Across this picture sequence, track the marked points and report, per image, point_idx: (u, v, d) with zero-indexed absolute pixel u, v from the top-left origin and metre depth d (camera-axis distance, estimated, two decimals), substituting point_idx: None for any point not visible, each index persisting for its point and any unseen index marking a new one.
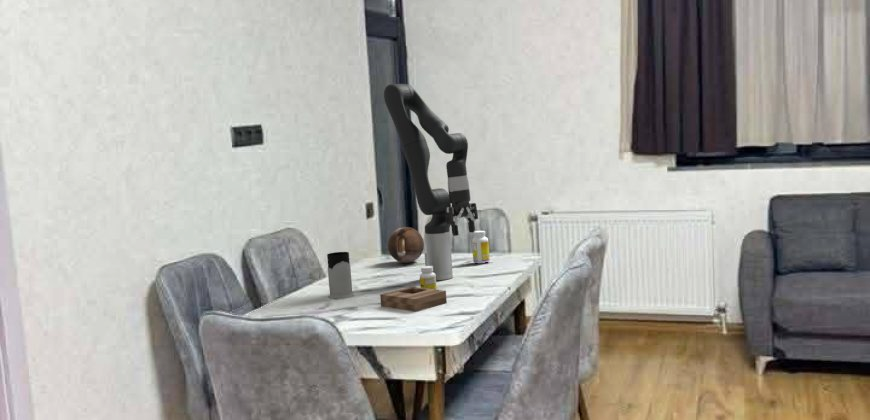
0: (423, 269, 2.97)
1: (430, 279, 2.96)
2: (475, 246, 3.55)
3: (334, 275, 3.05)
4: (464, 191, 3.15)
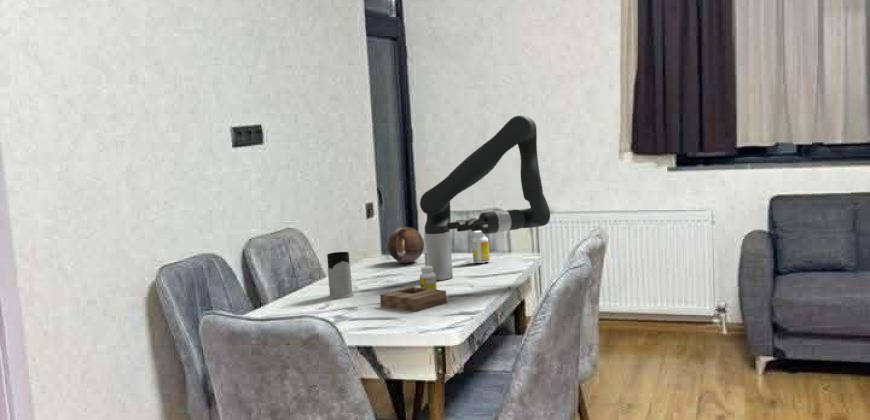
0: (423, 269, 2.97)
1: (430, 279, 2.96)
2: (475, 246, 3.55)
3: (334, 275, 3.05)
4: (494, 232, 3.06)
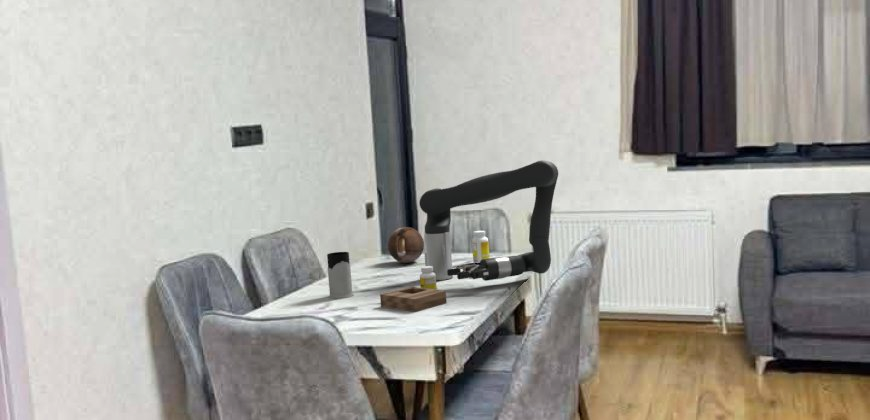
0: (423, 269, 2.97)
1: (430, 279, 2.96)
2: (475, 246, 3.55)
3: (334, 275, 3.05)
4: (494, 279, 3.07)
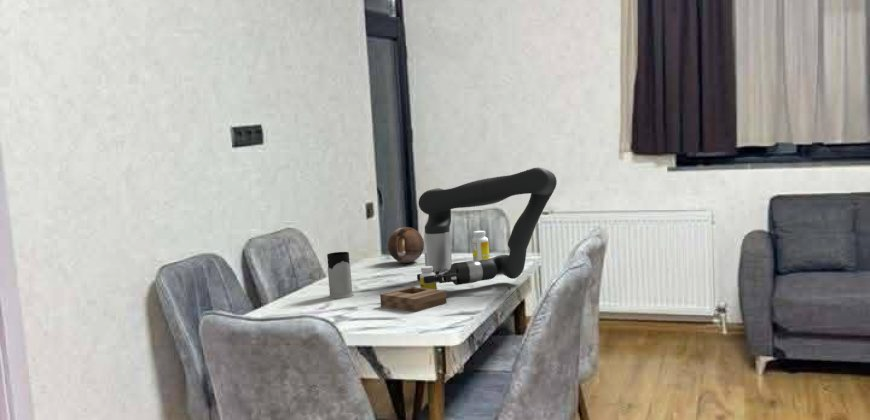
0: (423, 269, 2.97)
1: None
2: (475, 246, 3.55)
3: (334, 275, 3.05)
4: (465, 283, 3.03)
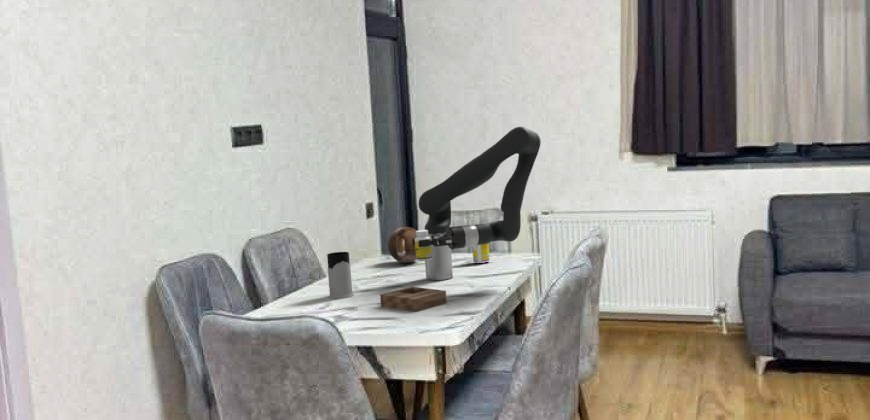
0: (418, 233, 2.93)
1: None
2: (475, 246, 3.55)
3: (334, 275, 3.05)
4: (461, 247, 2.99)
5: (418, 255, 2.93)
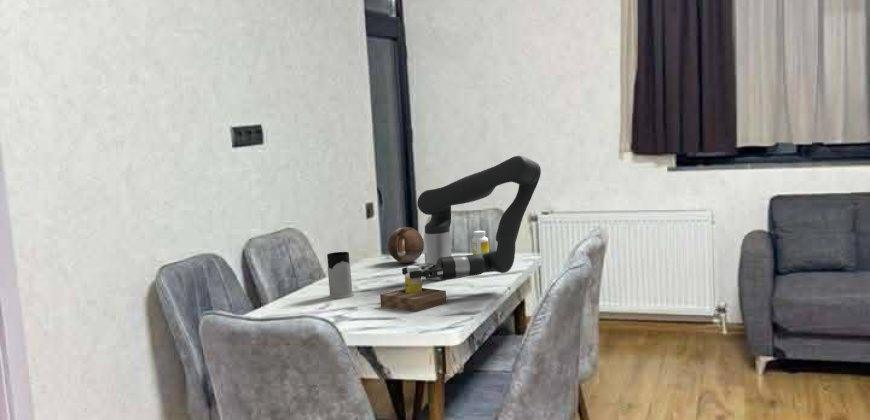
0: (408, 268, 2.87)
1: (415, 279, 2.86)
2: (475, 246, 3.55)
3: (334, 275, 3.05)
4: (452, 278, 2.91)
5: (407, 291, 2.87)
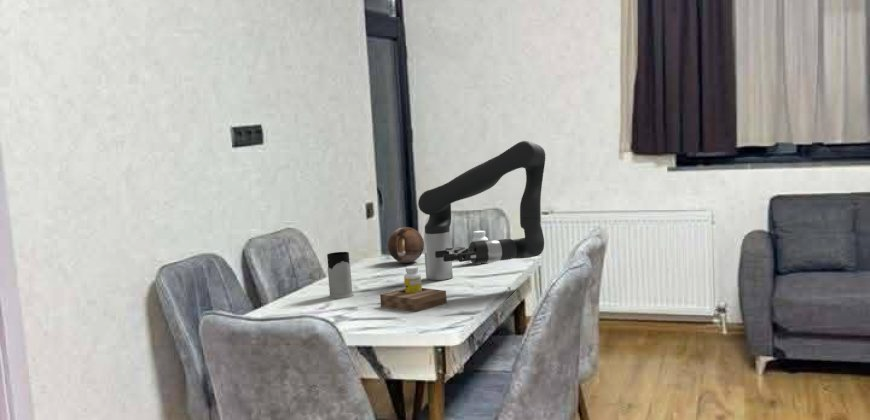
0: (407, 269, 2.86)
1: (414, 280, 2.86)
2: None
3: (334, 275, 3.05)
4: (484, 262, 2.95)
5: (407, 292, 2.87)
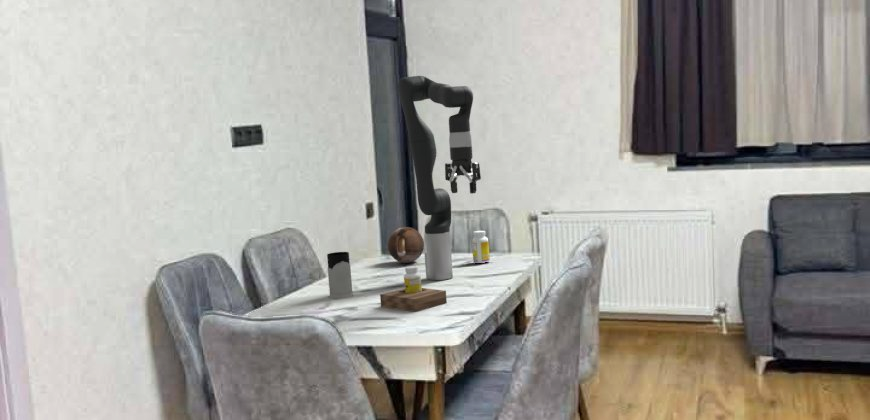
0: (407, 269, 2.86)
1: (414, 280, 2.86)
2: (475, 246, 3.55)
3: (334, 275, 3.05)
4: None
5: (407, 292, 2.87)
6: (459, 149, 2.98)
